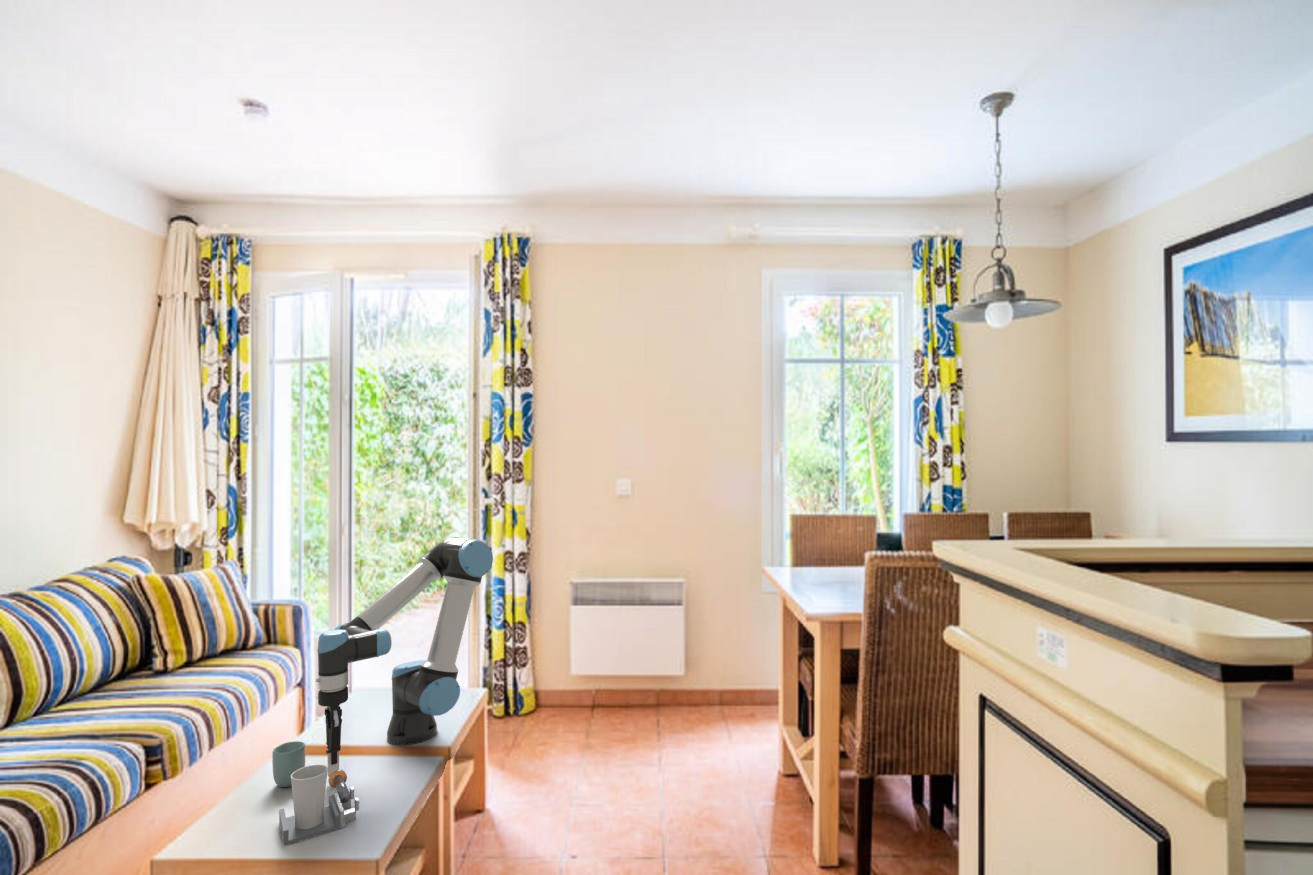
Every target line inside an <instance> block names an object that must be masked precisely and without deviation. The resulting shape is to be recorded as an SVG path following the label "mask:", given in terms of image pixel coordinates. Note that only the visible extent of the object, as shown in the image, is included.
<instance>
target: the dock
mask: <svg viewBox="0 0 1313 875" xmlns="http://www.w3.org/2000/svg"><path fill="white" fill-rule="evenodd" d="M278 814H279V815H278V816H279V818H278V819H279V820H278V822H279V828H280V834H281V839H282V844H283V847H284V846H288V845H290V844H294V843H297V842H301V841H305V840H308V839H311V838H314V837H317V836H320V835H324V834H327V833H330V832H334V831H337V830H341V829H342V828H341V815H340V812H339V809H338V807H337V804H336V801H335V799H334V796H333V794H331V795H328V805H326V806H324V821H323V822H322V823H321V824H319V825H317V826H315V827H313V828H309V829H297V828H296V827H295V815H292V816H289V817H287V816H286V812H285V808H284V807H283V808H280V809H278Z"/></svg>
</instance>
